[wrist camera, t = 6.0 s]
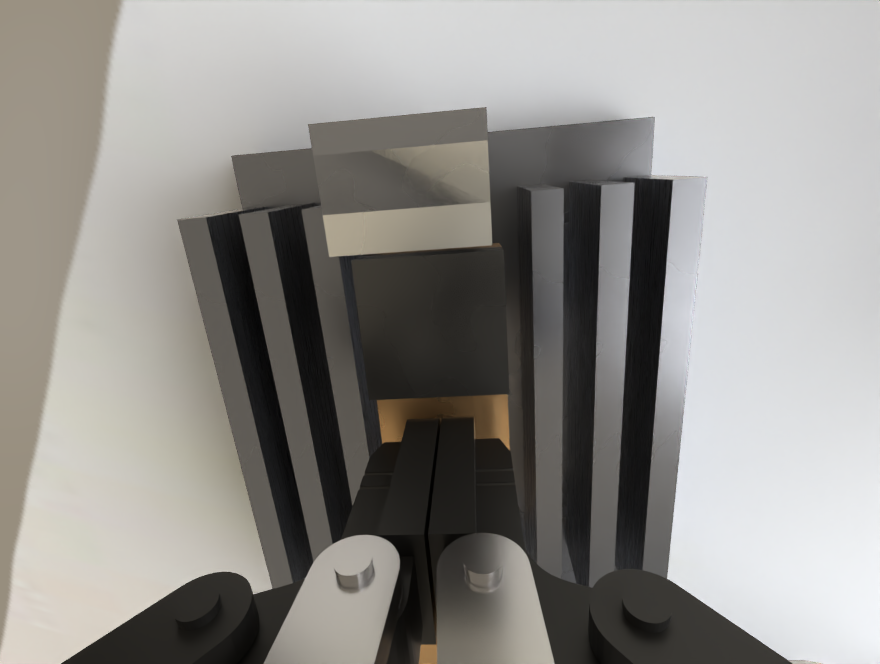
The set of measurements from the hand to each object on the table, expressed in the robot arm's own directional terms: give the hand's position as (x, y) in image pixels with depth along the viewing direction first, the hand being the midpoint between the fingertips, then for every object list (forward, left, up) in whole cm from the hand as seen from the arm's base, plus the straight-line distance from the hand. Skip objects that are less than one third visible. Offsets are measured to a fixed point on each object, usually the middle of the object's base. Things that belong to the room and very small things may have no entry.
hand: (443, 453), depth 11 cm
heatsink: (+2, 0, -7) cm, 7 cm away
